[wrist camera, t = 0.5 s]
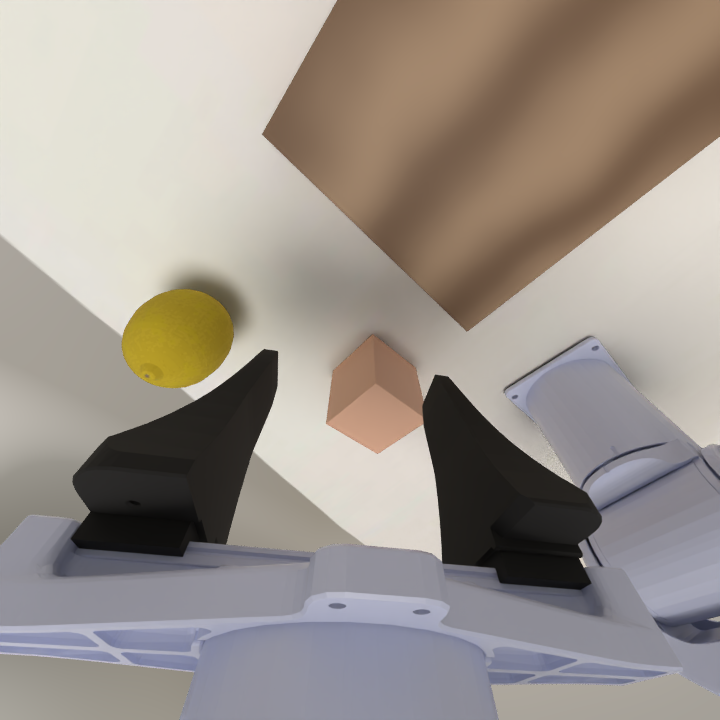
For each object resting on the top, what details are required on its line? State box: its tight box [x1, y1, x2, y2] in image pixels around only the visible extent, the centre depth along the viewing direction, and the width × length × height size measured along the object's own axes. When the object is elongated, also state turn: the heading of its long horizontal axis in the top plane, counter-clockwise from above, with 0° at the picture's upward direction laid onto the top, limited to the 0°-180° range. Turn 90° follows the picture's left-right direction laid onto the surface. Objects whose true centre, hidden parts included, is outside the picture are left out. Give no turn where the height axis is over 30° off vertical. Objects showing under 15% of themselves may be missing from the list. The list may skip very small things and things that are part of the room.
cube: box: [326, 334, 424, 454], centre depth 23 cm, size 5×5×6 cm
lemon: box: [122, 289, 234, 388], centre depth 19 cm, size 6×6×8 cm
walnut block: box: [262, 0, 720, 331], centre depth 15 cm, size 16×16×2 cm
